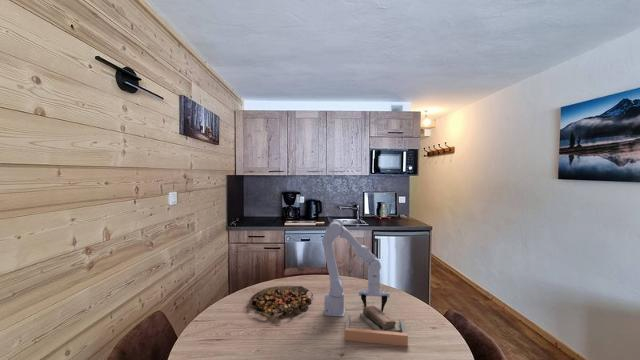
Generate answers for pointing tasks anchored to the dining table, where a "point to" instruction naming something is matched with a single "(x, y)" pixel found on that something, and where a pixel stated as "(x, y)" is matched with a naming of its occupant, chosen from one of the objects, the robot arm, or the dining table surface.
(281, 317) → the food dish
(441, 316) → the dining table surface
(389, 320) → the packaged product
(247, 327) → the dining table surface
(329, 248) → the robot arm
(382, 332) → the channel
